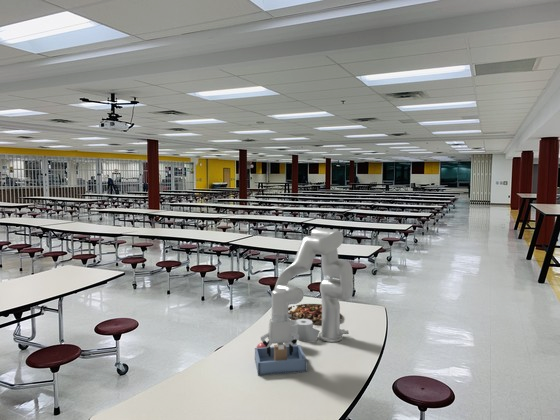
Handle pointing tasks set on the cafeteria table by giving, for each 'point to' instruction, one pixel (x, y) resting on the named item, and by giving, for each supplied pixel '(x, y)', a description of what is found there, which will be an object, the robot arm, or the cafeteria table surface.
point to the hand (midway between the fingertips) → (279, 354)
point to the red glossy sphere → (261, 345)
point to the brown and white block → (280, 352)
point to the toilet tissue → (306, 330)
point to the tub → (280, 361)
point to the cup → (293, 330)
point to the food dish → (308, 313)
